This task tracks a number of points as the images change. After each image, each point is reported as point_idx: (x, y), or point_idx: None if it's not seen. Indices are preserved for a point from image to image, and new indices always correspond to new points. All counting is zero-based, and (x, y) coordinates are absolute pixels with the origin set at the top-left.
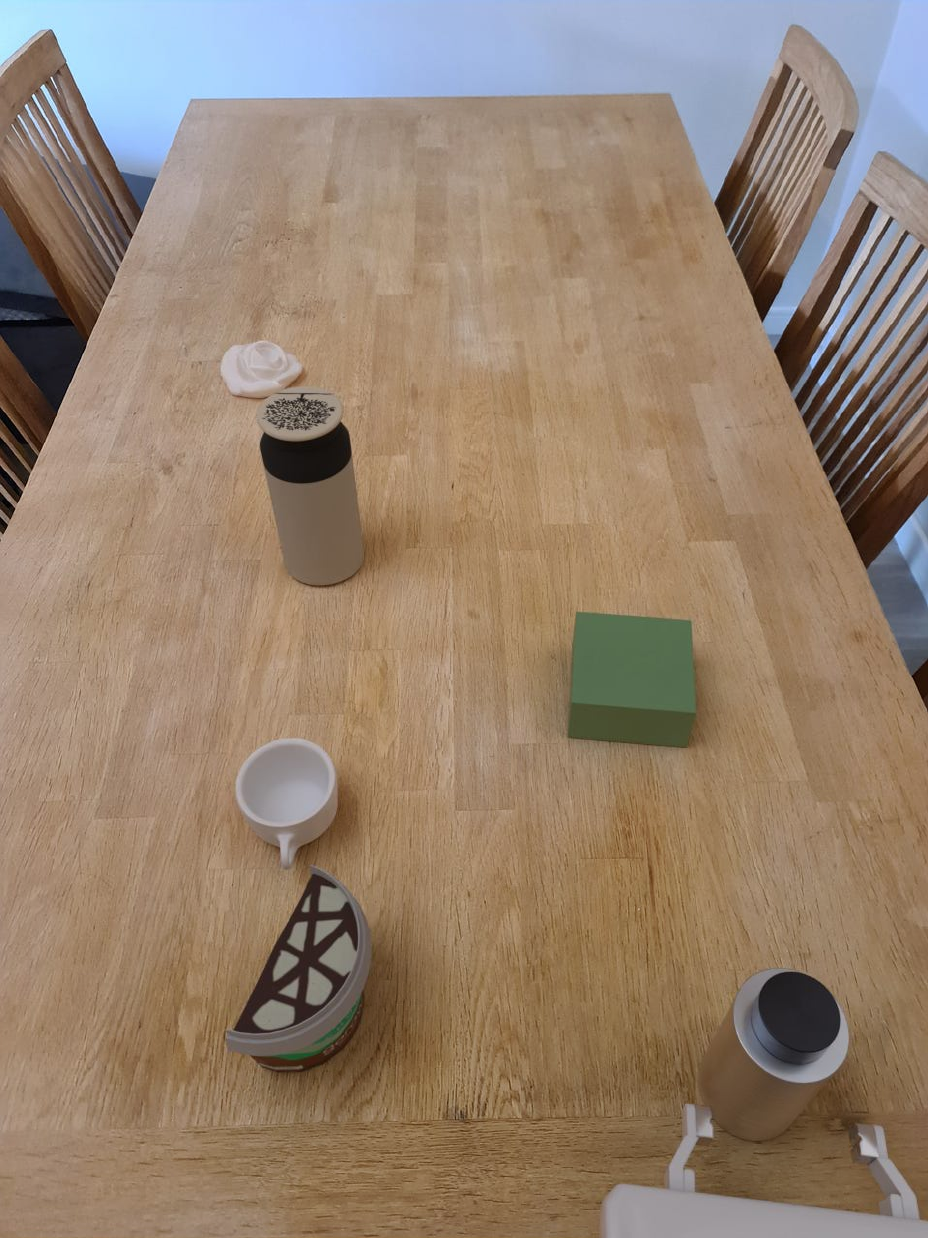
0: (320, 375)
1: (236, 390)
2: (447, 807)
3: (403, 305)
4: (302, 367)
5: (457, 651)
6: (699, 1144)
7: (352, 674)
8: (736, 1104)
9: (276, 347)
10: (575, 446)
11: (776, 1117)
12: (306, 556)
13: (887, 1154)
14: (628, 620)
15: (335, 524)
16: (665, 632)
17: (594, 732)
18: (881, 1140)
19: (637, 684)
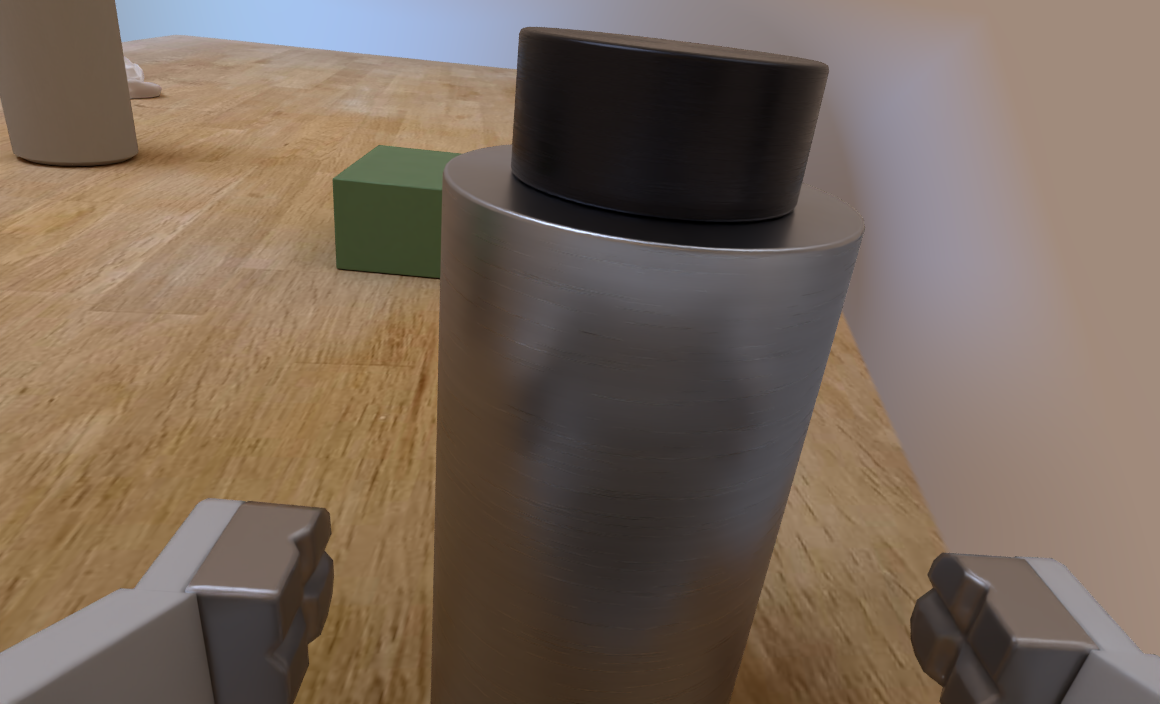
0: (180, 99)
1: None
2: (75, 307)
3: (296, 91)
4: (160, 87)
5: (212, 211)
6: (242, 697)
7: (29, 211)
8: (492, 630)
9: (134, 65)
10: (438, 144)
11: (632, 649)
12: (26, 104)
13: (1126, 636)
14: (447, 154)
15: (68, 54)
16: None
17: (376, 253)
18: (1073, 587)
19: (442, 178)
